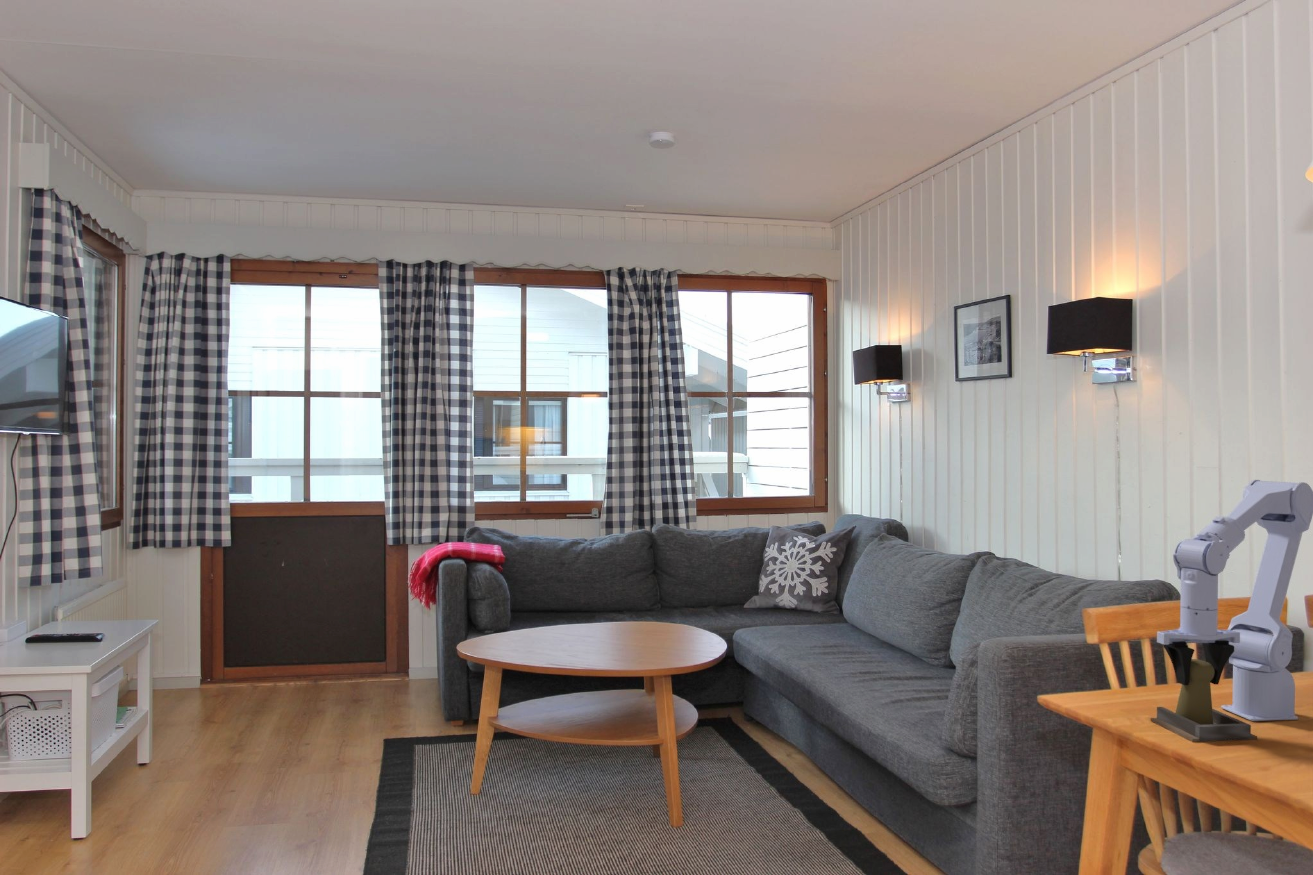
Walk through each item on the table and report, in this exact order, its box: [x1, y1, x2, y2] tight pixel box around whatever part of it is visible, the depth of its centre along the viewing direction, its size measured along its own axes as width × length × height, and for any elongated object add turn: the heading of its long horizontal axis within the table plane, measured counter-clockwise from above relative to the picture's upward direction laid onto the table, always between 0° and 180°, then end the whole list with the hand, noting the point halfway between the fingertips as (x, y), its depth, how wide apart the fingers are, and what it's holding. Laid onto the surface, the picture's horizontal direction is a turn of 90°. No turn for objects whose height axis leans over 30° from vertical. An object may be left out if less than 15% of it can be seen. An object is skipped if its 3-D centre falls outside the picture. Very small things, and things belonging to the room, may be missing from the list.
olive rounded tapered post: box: [1175, 658, 1215, 725], centre depth 163 cm, size 6×6×11 cm
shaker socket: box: [1149, 706, 1258, 743], centre depth 161 cm, size 12×11×2 cm
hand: (1197, 683), depth 162 cm, fingers closed on olive rounded tapered post, 5 cm apart
